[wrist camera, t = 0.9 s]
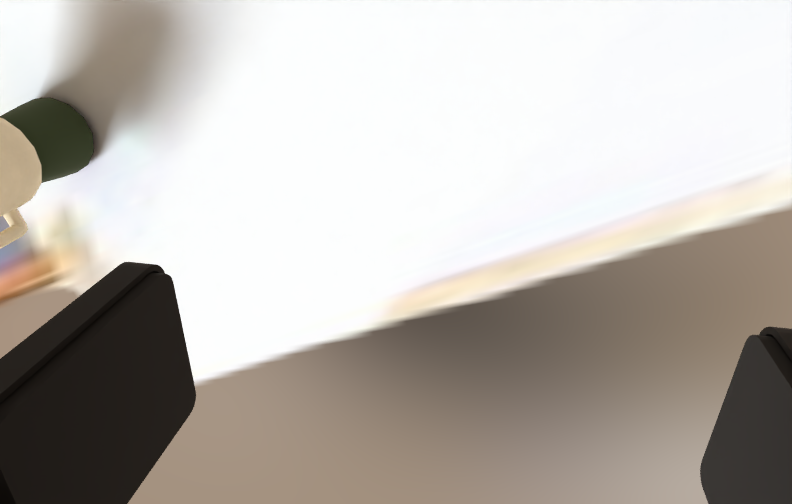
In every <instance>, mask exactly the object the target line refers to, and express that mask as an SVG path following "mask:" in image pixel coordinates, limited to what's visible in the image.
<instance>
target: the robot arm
mask: <svg viewBox="0 0 792 504" xmlns="http://www.w3.org/2000/svg"><path fill="white" fill-rule="evenodd" d="M195 399H196V392H195V386H194V381H193V376H192V372H191V367H190V362H189V357H188V352H187V347H186V343H185V338H184V333H183V328H182V323H181V318H180V314H179V309H178V304H177V299H176V294H175V289H174V284H173V281H172V278H171V277H170V276H169V275H167V274H165V273H164V270H163V269H162V268H161V267H160V266H158V265H154V264H144V263H134V262H124V263H122V264H120V265H119V266H118V267H116V268H115V269H114V270H113V271H111V272H110V273H109V274H107V275H106V276H105V277H104V278H102V279H101V280H100V281H99V282H97V283H96V284H95V285H93V286H92V287H91V288H90V289H88V290H87V291H86V292H85V293H83V294H82V295H81V296H80V297H78V298H77V299H76V300H75V301H73V302H72V303H71V304H69V305H68V306H67V307H66V308H64V309H63V310H62V311H61V312H59V313H58V314H57V315H56V316H54V317H53V318H52V319H50V320H49V321H48V322H47V323H45V324H44V325H43V326H41V328H39V329H38V330H36V331H35V332H34V333H33V334H31V335H30V336H29V337H27V338H26V339H25V340H24V341H22V342H21V343H20V344H19V345H17V346H16V347H15V348H14V349H12V350H11V351H10V352H8V353H7V354H6V355H5V356H3V357H2V358H1V359H0V504H127V503H128V502H129V500H130V499H131V498H132V496H133V495H134V493H135V492H136V490H137V489H138V488H139V486H140V485H141V483H142V481H144V479H145V478H146V476H147V475H148V473H149V472H150V471H151V469H152V468H153V466H154V465H155V463H156V462H157V461H158V459H159V458H160V456H161V455H162V453H163V452H164V451H165V449H166V448H167V446H168V445H169V443H170V442H171V441H172V439H173V438H174V436H175V435H176V433H177V432H178V431H179V429H180V428H181V426H182V425H183V423H184V422H185V421H186V419H187V418H188V416H189V415H190V413H191V412H192V410H193V407H194V404H195ZM700 472H701V473H700V474H701V483H702V487H703V490H704V492H705V495H706V498H707V501H708V503H709V504H792V329H787V328H777V327H766V328H764V329H763V330H762V331H761V332H760V334H759V335H751V336H749V338H748V339H747V341H746V342H745V345H744V348H743V350H742V353H741V356H740V359H739V361H738V364H737V367H736V369H735V372H734V375H733V377H732V380H731V383H730V386H729V388H728V391H727V394H726V397H725V399H724V402H723V405H722V408H721V410H720V413H719V416H718V419H717V421H716V424H715V426H714V430H713V432H712V435H711V437H710V440H709V443H708V446H707V449H706V451H705V454H704V457H703V459H702V463H701V470H700Z"/></svg>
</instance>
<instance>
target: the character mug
mask: <svg viewBox="0 0 792 504" xmlns="http://www.w3.org/2000/svg"><path fill="white" fill-rule="evenodd" d="M93 152H94V149H93V135H92V132H91V131H90V129H89V127H88V125H87V123H86V121H85V119H84V118H83V117H82V116H81V115H80V114H79V113H78V112H76V111H75V110H74V109H73V108H72V107H71V106H69V105H68V104H66V103H63V102H60V101H58V100H55V99H52V98H39V99H34V100H31V101H29V102H27V103H25V104H23V105H20V106H18V107H17V108H15V109H13V110H11V111H9V112H7V113H5V114H4V115H2V116H0V217H1V216H4V218H5V219H6V221H7V222H8V224H9V225H10V227H9V228H7V229H6V230H4V231H2V232H0V248H2V247H4V246H6V245H8V244H10V243H11V242H13V241H15V240H17V239H18V238H20V237H22V236H23V235H24V234H25V233H26V232H27V230H28V227H27V224H26V222H25V221H24V219H23V218H22V216H21V214H20V213H19V211H18V210H17V208H18V207H20V206H22V205H23V204H25V203H26V202H28V201H29V200H31V199H32V198H33V196H34V195H35V194H36V192H37V190H38V188H39V186H40V185H41V183H43V182H46V181H50V180H54V179H57V178H61V177H64V176H67V175H70V174H73V173H76V172H78V171H79V170H81V169H82V168H84V167H85V166H87V165H88V163H89V161H90V159H91V156H92V154H93Z"/></svg>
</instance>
